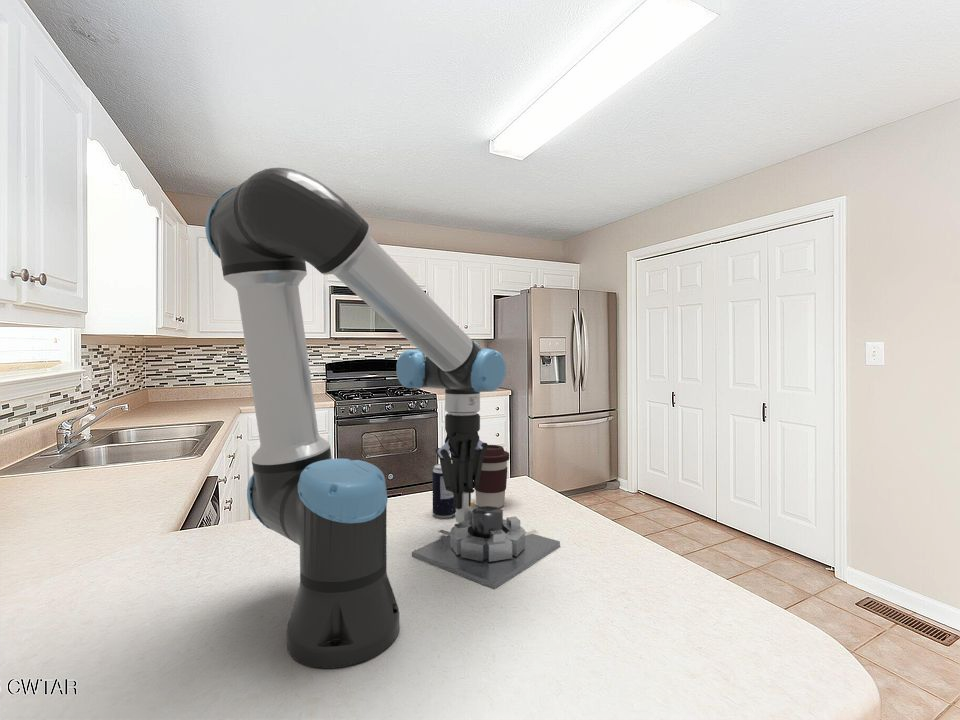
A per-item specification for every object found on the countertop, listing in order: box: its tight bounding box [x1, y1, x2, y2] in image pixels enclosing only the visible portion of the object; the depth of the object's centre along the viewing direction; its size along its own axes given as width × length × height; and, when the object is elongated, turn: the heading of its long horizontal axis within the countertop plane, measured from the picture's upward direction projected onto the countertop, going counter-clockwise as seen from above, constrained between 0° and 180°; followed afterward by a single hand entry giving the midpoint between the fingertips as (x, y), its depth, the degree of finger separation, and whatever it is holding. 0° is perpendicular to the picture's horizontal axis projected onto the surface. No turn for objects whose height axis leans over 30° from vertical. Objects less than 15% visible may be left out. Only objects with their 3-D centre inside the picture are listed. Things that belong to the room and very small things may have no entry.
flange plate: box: [411, 506, 561, 590], centre depth 95 cm, size 24×23×8 cm
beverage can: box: [431, 463, 456, 519], centre depth 114 cm, size 6×6×12 cm
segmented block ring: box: [449, 502, 526, 562], centre depth 96 cm, size 14×20×5 cm
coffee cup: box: [473, 444, 510, 509], centre depth 122 cm, size 10×10×15 cm
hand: (462, 522), depth 102 cm, fingers closed
